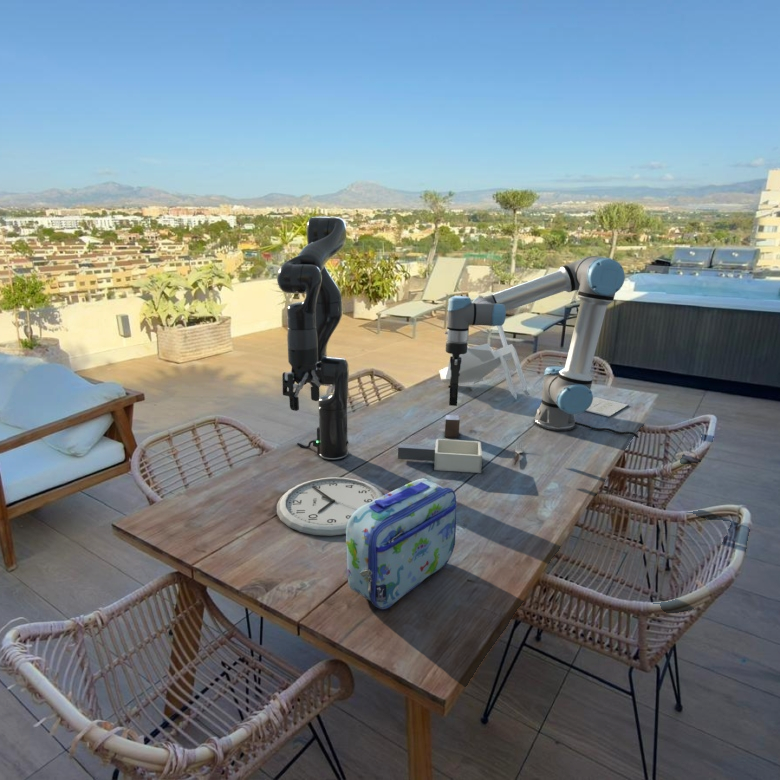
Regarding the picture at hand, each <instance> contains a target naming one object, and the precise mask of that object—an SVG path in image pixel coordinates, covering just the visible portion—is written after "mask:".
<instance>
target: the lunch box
mask: <svg viewBox="0 0 780 780" xmlns="http://www.w3.org/2000/svg"><path fill="white" fill-rule="evenodd" d="M456 498H457V496H456V493H455V491H454V489H452V488H450V487H443V486H441V485H439V484H438V483H436V482H433V481H432V480H430V479H427V478H423V477H422V478H418V479H416V480H413V481H411V482H409V483H406V484H405V485H402V486H400V487H398V488H396V489H394V490H392V491H390V492H388V493H386V494H384V496H382V497H380V498H378V499H376V500H374V501H372V502H370V503H368V504H366V505H364V506H362V507H360V508H358V509H357V510H356V511H355V512H354V513H353V514H352V515H351V517H350V519H349V521H348V524H347V528H346V534H345V547H346V549H345V550H346V572H347V573H346V575H347V584H348V587H349V589H350V590H351V591H353V592H355V593H357V594H358V595H361V596H363V597H364V598H365V599H367V600H368V601H369V602H371V604H372V605H373V606H374V607H376V608H377V609H380V610H386V609H389V608H391V607H393V605H395V603H397V602H398V601H399V600H400V599H402V598H403V597H404V596H405V595H408V593H410V592H411V591H412V590H413V589H415V588H416V587H417V586H419V585H420V584H421V583H423V581H424V580H425V579H427V578H428V577H430V576H431V575H433V574H435V573H437V572H438V571H439V570H441V569H442V568H443V567H444V566H446V564H447V563H448V562H449V560H450V559H451V556H452V555H453V552H454V548H455V544H456V531H457V530H456V529H457V499H456Z"/></svg>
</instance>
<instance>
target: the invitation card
mask: <svg viewBox="0 0 780 780" xmlns="http://www.w3.org/2000/svg"><path fill="white" fill-rule="evenodd" d="M628 406H629V404H627V403H623V402H618V401H614V400H609V399H605V398H601V397H596V396H593V401H592V404H591V406H590V407H589V408H588V409H587V410H586V411H585V412H587V413H593V414H596V415H600V416H604V417H608V418H609V417H611V416H613V415H614V414H616V413H617V412H619V411H621V410H623V409H624V408H626V407H628Z"/></svg>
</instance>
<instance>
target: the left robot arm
mask: <svg viewBox="0 0 780 780" xmlns="http://www.w3.org/2000/svg"><path fill="white" fill-rule="evenodd" d="M347 233H348V232H347V226H346V222H345V221H344V219H343V218H340V217H337V216H312V217H310V218H309V219H308V220H307V224H306V240H307V244H306V245H305V246H304V247H303V248H302V249H301V250H300V252H299V253H298V255H296V256H294V257H292V258H291V259H289V260H287V261H285V262H284V263H283V264H282V265H281V266H280V268H279V269H278V272H277V275H276V281H277V282H276V283H277V286H278V287H279V289H280V290H281V291H283V292H284V293H286V294H299V295H302V294H303V295H305V298H304V300H303V301H298V302H293V303H290V304H289V305H288V306H287V307H286V321H287V334H286V338H287V339H286V341H287V342H286V343H287V361H288V363H289V365H290V367H291V368H290V369H291V370H290V371H289V372H286V371H283V373H282V375H281V376H282V380H281V381H282V396H285V397H288V398H289V400H288V401H289V409H290V410H291V411H294V412H297V411H299V410H300V402H299V401H300V400H299V394H300V392H301V390H303V387H304V386H305V385H307V384H308V383H309V385H310V399H311V401H313V402H318V427H316V438H313V439H312V440H310V441H309V442H308V445H304V444H302V443H299V442H298V443H296V445H297V446H299V447H301V448H304V449H309V448H310V447H311V445H312V447H314V448H316V451H317V456H319V457H320V458H322V459H323V460H326V461H339V460H342V459H345V458H346V457H348V455H349V451H348V449H349V448H348V446H349V439H348V399H349V379H350V378H349V377H350V367H349V363H348V360H347V359H346V358H342V357H332V356H327V355H328V354H327V351H328V344H329V342H330V339H331V337H332V335H333V334H334V332H335V331H336V329H337V328H338V326H339V324H340V323H341V320H342V318H343V297H342V292H341V290H340V288H339V287H338V285H337V284H336V282H335V281H334V279H333V277H332V276H331V274H330V272H329V271H328V270H327V268H326V267H327V266H326V264H327V263H328V262H329V260H330V259H332V258H333V257H334V256H335V255H337V254H338V253H339V252H340V251H341V250H343V248H344V247H345V245H346V242H347ZM321 386H325V387H333V392H329V393H325V394H323V395H321V396H320V388H321Z"/></svg>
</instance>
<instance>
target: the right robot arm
mask: <svg viewBox="0 0 780 780" xmlns="http://www.w3.org/2000/svg"><path fill="white" fill-rule="evenodd" d="M625 278H626V274H625V270H624V268H623V266H622V264H620V263H619V261H618V260H615V259H613V258H610V257H602V256H596V255H591V256H585V257H583V258H581V259H578V260H575V261H573V262H570V263H568V264H566V265H563V266H560V268H559V269H558V270H557V271H554V272H552V273H549V274H546V275H542V276H540V277H537V278H534V279H532V280H529V281H527V282H523V283H521V284H518V285H515V286H512V287H510V288H506V289H503V290H501V291H498V292H495V293H493V294H489V295H487V296H479V297H475V298H474V299H473V300H472V299H471V297H470V296H463V295H454V296H451V297H450V298H449V300H448V307H447V317H446V319H447V321H446V331H444V334H445V335H446V342H445V353H448V354H449V355H451V354H452V357H451V356H449V361H450V365H451V366H450V370H451V378H450V385H448V388H449V400H448V401H449V402H448V406H451V407H452V406H453V407H457V406H458V397H459V386H460V385H459V384H458V380H459V376H460V373H459V371H460V365H461V357H459V355H460V354H466V353H467V346H469V345H468V341H469V333H470V330H469V329H470V326H487V327H489V326H491V327H497V326H501V325H502V326H503V325H504V324H505V321H506V314H507V312H508V311H511V310H514V309H516V308H520V307H522V306H525V305H528V304H531V303H534V302H538V301H540V300H543V299H546V298H549V297H551V296H552V297H553V296H554V295H558V294H561V293H563V292H567V293H572V292H575V291H577V295H576V296H577V297H578V299H579V300H580V303H579V307H578V311H577V315H576V319H575V323H574V326H573V327H574V328H573V332H572V336H571V340H570V344H569V348H568V353H567V357H566V360H565V364H564V366H548V367H546V368H545V370H544V374H543V381H542V382H543V384H542V394H541V402H540V405H539V407H538V408H537V410H536V413H535V416H534V424H535V425H536V426H537V427H539V428H542V429H544V430H549V431H556V432H567V431H572V430H574V429H575V428H576V425H577V426H580V427H583V428H586V429H590V430H594V431H597V432H598V431H599V432H609V433H610V432H611V433H613V434H616V435H632V436H634V437H635V438H637V439H639V438H640V436H639V435H638V434H637V433H635V432H633V431H618V430H615V429H612V428H608V427H595V426H592V425H589V424H586V423H582V422H578V421H576V418H575V417H576V416H575V415H579V414H582V413H584V412H587V411H586V410H587V409H588V408H589V407H590V406H591V404H592V401H593V398H594V395H593V391H592V390H591V389H592V384H593V381H594V380H593V379H594V378H593V376H592V375H591V370H592V365H593V361H594V358H595V354H596V350H597V347H598V343H599V338H600V334H601V331H602V327H603V323H604V319H605V315H606V311H607V307H608V306H609V305H610V304H611V303H613V302H614V300H615V297H616V293H617V292H618V291H620V290H621V288H622V287H623V286H624V283H625Z"/></svg>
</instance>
